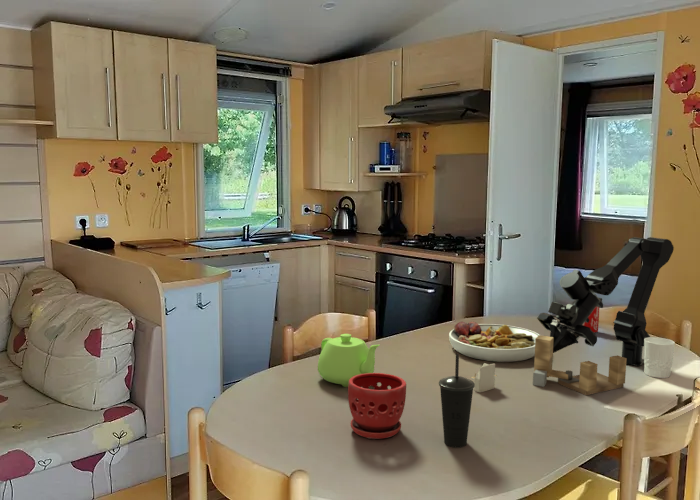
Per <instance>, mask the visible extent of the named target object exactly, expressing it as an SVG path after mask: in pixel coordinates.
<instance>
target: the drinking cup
mask: <svg viewBox="0 0 700 500" xmlns="http://www.w3.org/2000/svg"><path fill="white" fill-rule="evenodd" d="M459 364H460V354H459V353H455V369H454V370H455V372H454V373H455V375H451V376H447V377H443V378H441V379H439V381H438V386H439V387H440V388H439V389H440V399H441V400H440V401H441V403H440V404H441V416H442V427H443V439H444V441H443V442H444V444H445V445H446V446H448V447H452V448H463V447H465V446H466V445H467V443H468V433H469V427H470V426H469V425H470V420H471V419H470V418H471V409H472V400H473V394H474V387H475V384H474V383H475V381H473V380H472V379H469V378H468V377H465V376H461V375H459V371H460V370H459V367H460V366H459Z"/></svg>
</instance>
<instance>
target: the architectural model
mask: <svg viewBox="0 0 700 500" xmlns="http://www.w3.org/2000/svg"><path fill="white" fill-rule="evenodd" d="M497 377H498V375H497V374H496V362H495V363H490V364H489V363H485V362H484V363H483V365H482V366H480V367H479V370H478V372H477V373H475V372H474V376H471V377H470V380H472V381H473V380H474V384H475V387H474V388H473V392H474V391H475V392H477V393H483V392H486V391H490V390H493V389H495V381H496V378H497Z"/></svg>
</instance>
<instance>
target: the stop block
mask: <svg viewBox="0 0 700 500" xmlns="http://www.w3.org/2000/svg"><path fill="white" fill-rule="evenodd" d="M547 378H548V377H547V371H542V370H535V371H534V370H533V374H532V385H533V386H535V387H543V388H545V386H546V385H547Z"/></svg>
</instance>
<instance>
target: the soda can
mask: <svg viewBox="0 0 700 500" xmlns="http://www.w3.org/2000/svg"><path fill="white" fill-rule="evenodd" d="M588 318H589V320H590V321H589V322H588V323H587V322H584V324H583V326H586V327H589V328H590V329H591V330H592V331H593V332H594V334H596V333H598V332H599V322H600V320H599V319H600V307H595V309H594V310H593V311H592V313H591V314H590V315H589V317H588Z"/></svg>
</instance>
